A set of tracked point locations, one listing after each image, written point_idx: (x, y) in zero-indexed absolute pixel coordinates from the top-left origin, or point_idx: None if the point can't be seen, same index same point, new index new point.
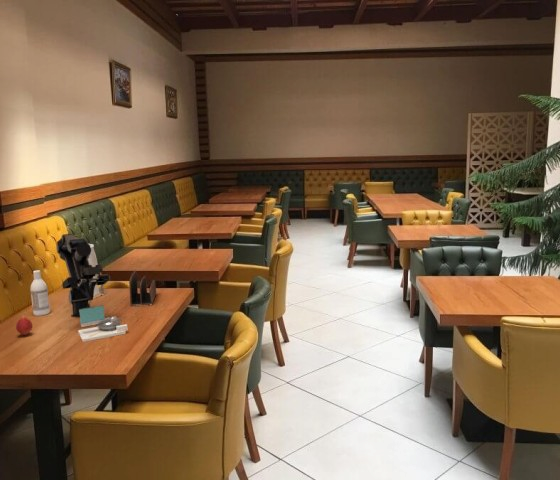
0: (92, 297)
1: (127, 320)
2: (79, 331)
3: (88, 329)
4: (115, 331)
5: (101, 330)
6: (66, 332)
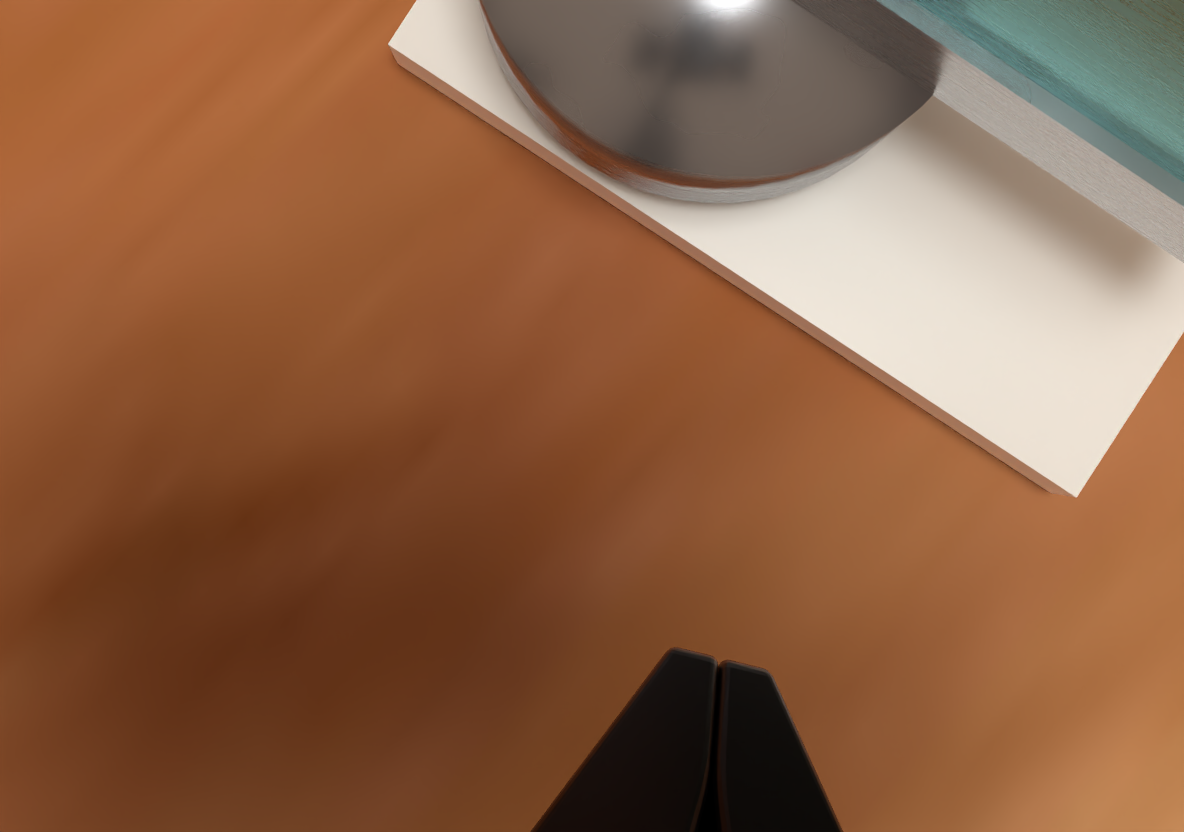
0: (690, 709)
1: (97, 122)
2: (1118, 411)
3: (959, 332)
4: None
5: None
6: (1124, 734)
